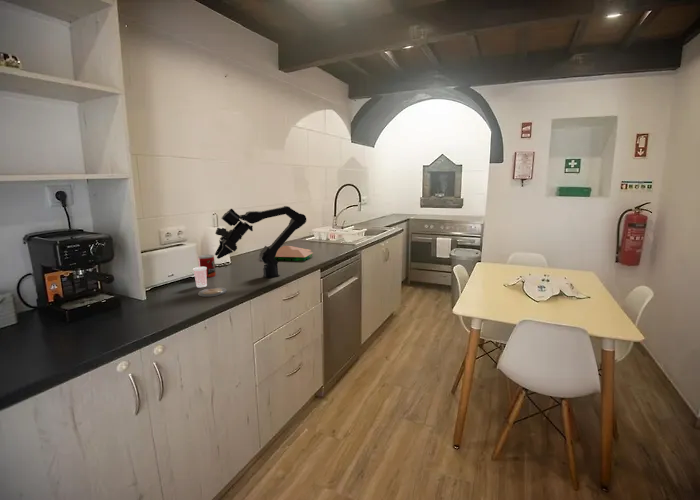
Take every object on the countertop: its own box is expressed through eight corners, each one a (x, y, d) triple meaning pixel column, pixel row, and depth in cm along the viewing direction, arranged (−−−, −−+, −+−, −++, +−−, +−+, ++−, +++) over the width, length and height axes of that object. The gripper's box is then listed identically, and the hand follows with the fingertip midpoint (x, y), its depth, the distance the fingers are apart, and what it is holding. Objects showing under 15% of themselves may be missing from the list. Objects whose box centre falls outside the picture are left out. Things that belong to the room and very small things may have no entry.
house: (274, 253, 250) (273, 242, 248) (318, 255, 241) (317, 243, 239) (257, 261, 228) (256, 248, 227) (305, 262, 219) (304, 249, 218)
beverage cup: (202, 288, 168) (199, 259, 166) (192, 287, 170) (188, 258, 168) (211, 284, 174) (208, 256, 171) (201, 283, 176) (198, 256, 173)
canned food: (210, 278, 187) (208, 257, 185) (197, 277, 189) (194, 257, 187) (218, 274, 194) (216, 254, 192) (205, 274, 196) (203, 254, 194)
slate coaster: (221, 287, 169) (220, 285, 169) (230, 292, 160) (230, 291, 160) (194, 292, 162) (194, 291, 161) (203, 298, 152) (203, 297, 152)
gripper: (222, 219, 180) (201, 243, 178) (227, 223, 164) (204, 249, 161) (239, 234, 185) (219, 257, 183) (246, 238, 169) (224, 264, 166)
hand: (216, 256), depth 173 cm, fingers open, 9 cm apart
